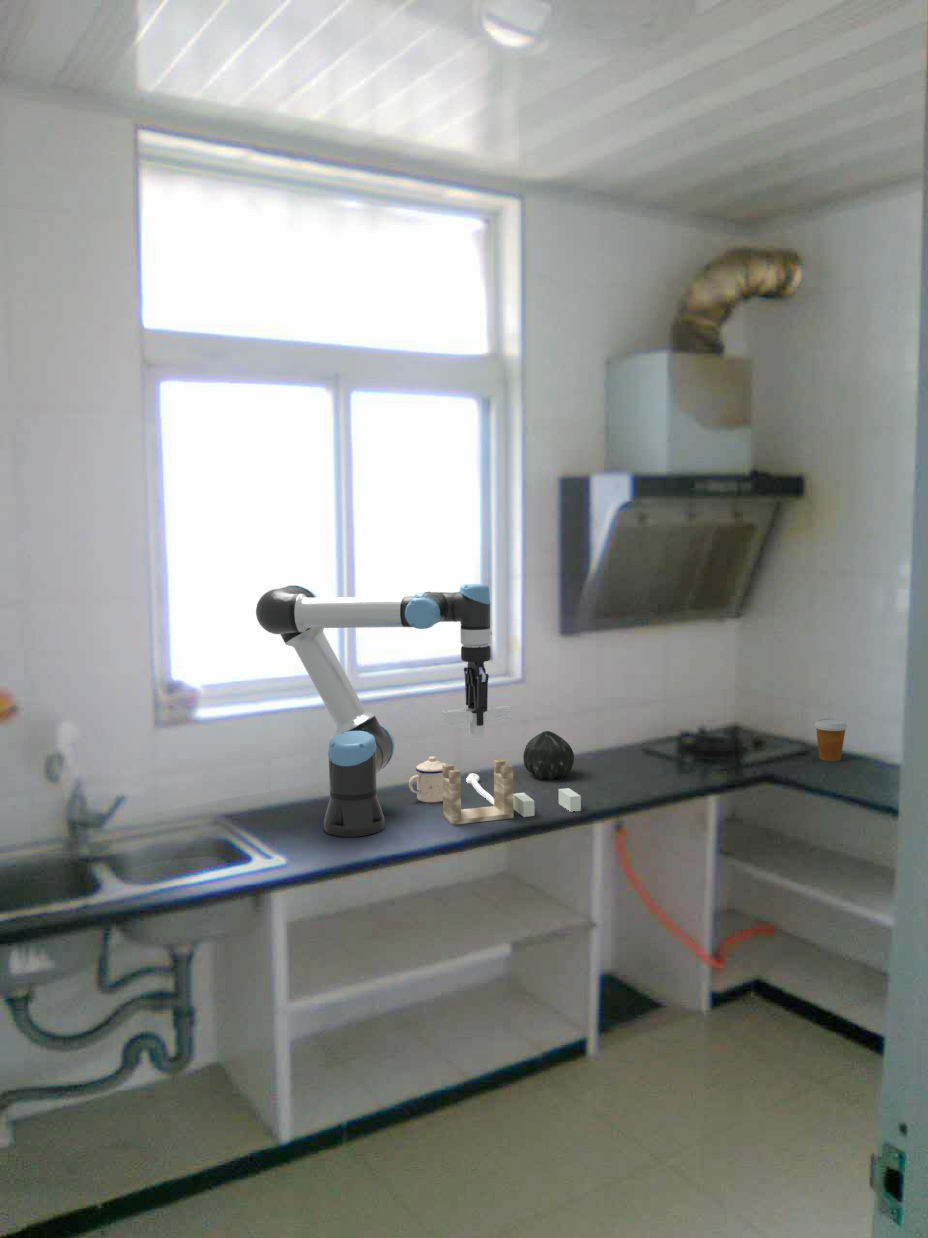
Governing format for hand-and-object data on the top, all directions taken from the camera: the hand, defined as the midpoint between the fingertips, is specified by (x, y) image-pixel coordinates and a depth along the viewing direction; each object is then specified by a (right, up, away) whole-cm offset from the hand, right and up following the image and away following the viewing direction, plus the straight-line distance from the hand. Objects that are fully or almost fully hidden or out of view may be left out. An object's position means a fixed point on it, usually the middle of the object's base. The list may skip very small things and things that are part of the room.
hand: (476, 735), depth 254 cm
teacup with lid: (-13, -20, +19) cm, 30 cm away
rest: (+19, -20, +8) cm, 29 cm away
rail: (0, +4, 0) cm, 4 cm away
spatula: (+3, -19, +25) cm, 32 cm away
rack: (0, -21, +2) cm, 21 cm away
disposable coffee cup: (+111, -14, +56) cm, 126 cm away
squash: (+22, -17, +41) cm, 49 cm away
